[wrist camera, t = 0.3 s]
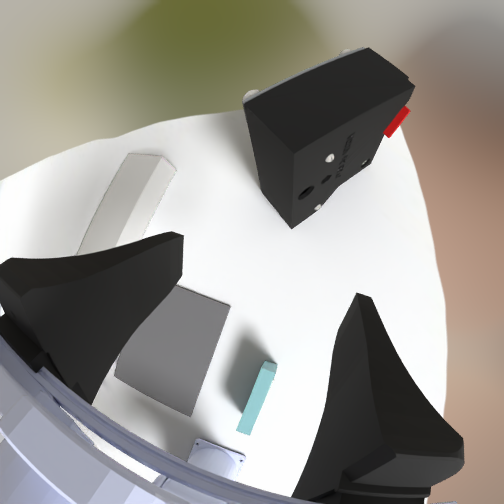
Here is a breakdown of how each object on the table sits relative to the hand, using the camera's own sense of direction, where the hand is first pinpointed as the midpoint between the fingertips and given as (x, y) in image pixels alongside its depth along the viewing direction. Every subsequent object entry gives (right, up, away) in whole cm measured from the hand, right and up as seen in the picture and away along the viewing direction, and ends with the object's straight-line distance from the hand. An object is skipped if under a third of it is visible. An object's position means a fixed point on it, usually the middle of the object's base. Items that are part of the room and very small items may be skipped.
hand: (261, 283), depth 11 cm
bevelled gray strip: (-25, +1, +34) cm, 42 cm away
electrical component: (+10, +13, +32) cm, 36 cm away
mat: (-13, -13, +28) cm, 33 cm away
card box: (+1, -18, +25) cm, 31 cm away
